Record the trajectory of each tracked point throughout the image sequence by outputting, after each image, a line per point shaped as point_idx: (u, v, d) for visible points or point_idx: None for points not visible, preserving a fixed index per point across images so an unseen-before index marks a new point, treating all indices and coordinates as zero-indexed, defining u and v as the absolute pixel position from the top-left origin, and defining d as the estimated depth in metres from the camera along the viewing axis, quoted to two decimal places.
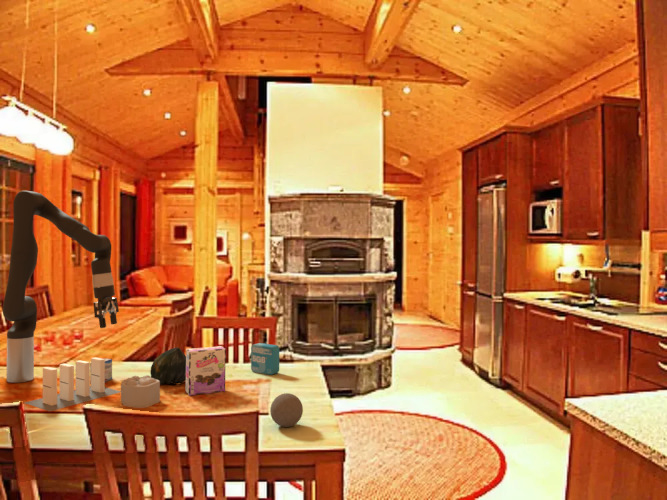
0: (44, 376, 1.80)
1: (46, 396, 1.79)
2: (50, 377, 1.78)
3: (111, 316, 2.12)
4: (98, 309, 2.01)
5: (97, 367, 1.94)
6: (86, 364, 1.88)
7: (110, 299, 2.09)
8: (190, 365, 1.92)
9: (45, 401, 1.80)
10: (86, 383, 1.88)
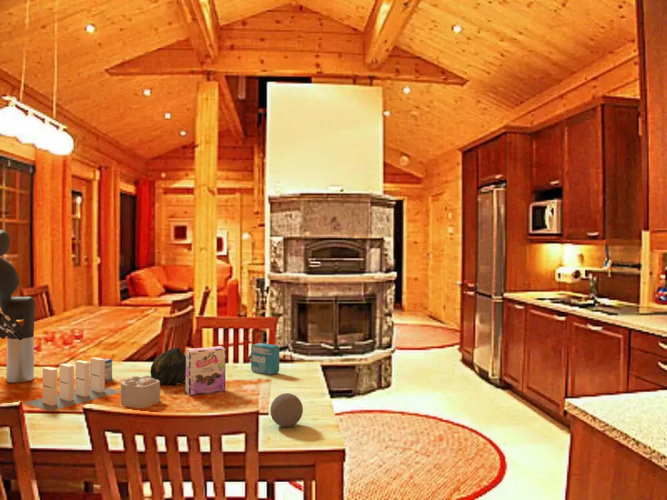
0: (44, 376, 1.80)
1: (46, 396, 1.79)
2: (50, 377, 1.78)
3: None
4: None
5: (97, 367, 1.94)
6: (86, 364, 1.88)
7: None
8: (190, 365, 1.92)
9: (45, 401, 1.80)
10: (86, 383, 1.88)
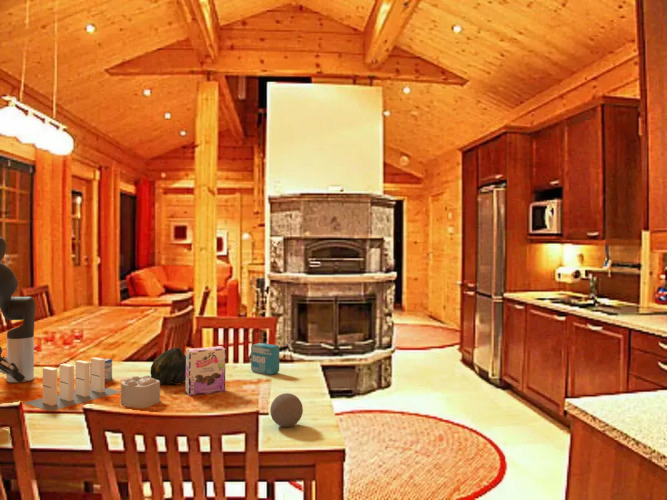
0: (44, 376, 1.80)
1: (46, 396, 1.79)
2: (50, 377, 1.78)
3: None
4: None
5: (97, 367, 1.94)
6: (86, 364, 1.88)
7: None
8: (190, 365, 1.92)
9: (45, 401, 1.80)
10: (86, 383, 1.88)
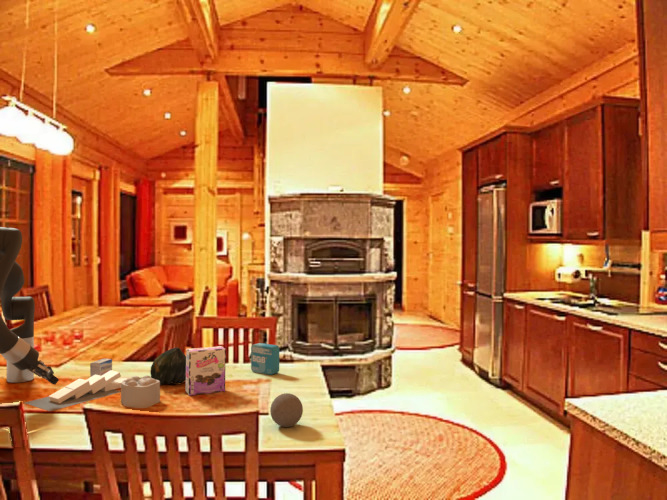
0: (74, 382, 1.89)
1: (58, 393, 1.83)
2: (80, 384, 1.88)
3: None
4: None
5: (123, 380, 2.03)
6: (118, 374, 1.99)
7: (33, 367, 1.73)
8: (190, 365, 1.92)
9: (54, 395, 1.82)
10: (103, 384, 1.94)
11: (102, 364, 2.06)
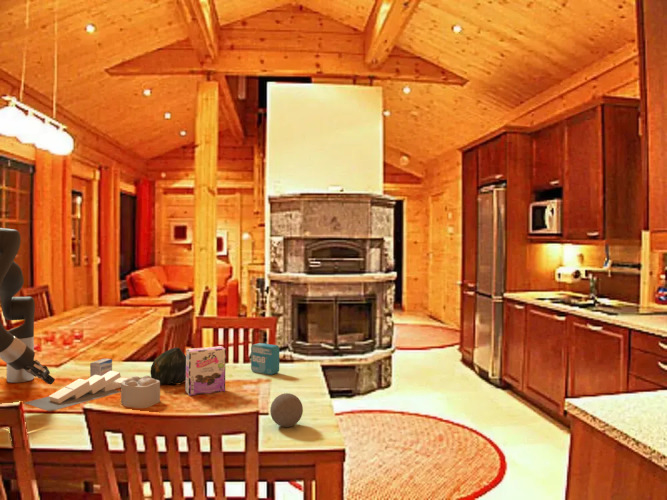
0: (74, 382, 1.89)
1: (58, 393, 1.83)
2: (80, 384, 1.88)
3: None
4: None
5: (123, 380, 2.03)
6: (118, 374, 1.99)
7: (28, 366, 1.72)
8: (190, 365, 1.92)
9: (54, 395, 1.82)
10: (103, 384, 1.94)
11: (102, 364, 2.06)
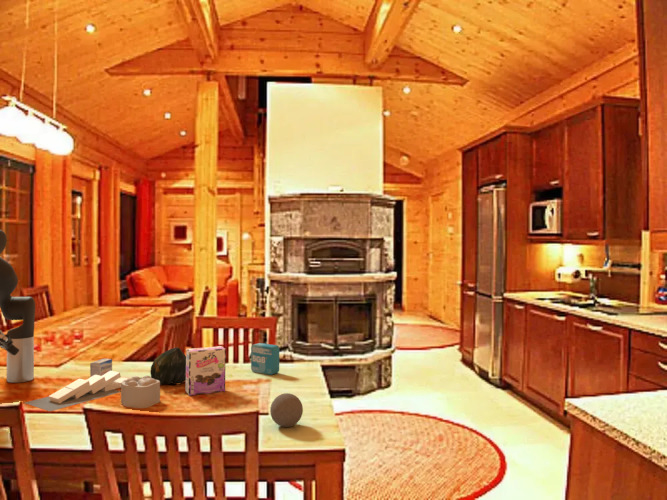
0: (74, 382, 1.89)
1: (58, 393, 1.83)
2: (80, 384, 1.88)
3: None
4: None
5: (123, 380, 2.03)
6: (118, 374, 1.99)
7: None
8: (190, 365, 1.92)
9: (54, 395, 1.82)
10: (103, 384, 1.94)
11: (102, 364, 2.06)
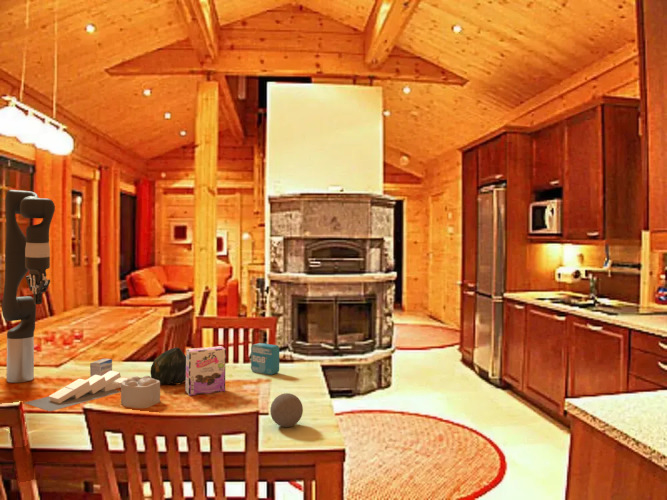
0: (74, 382, 1.89)
1: (58, 393, 1.83)
2: (80, 384, 1.88)
3: None
4: None
5: (123, 380, 2.03)
6: (118, 374, 1.99)
7: (37, 273, 1.83)
8: (190, 365, 1.92)
9: (54, 395, 1.82)
10: (103, 384, 1.94)
11: (102, 364, 2.06)
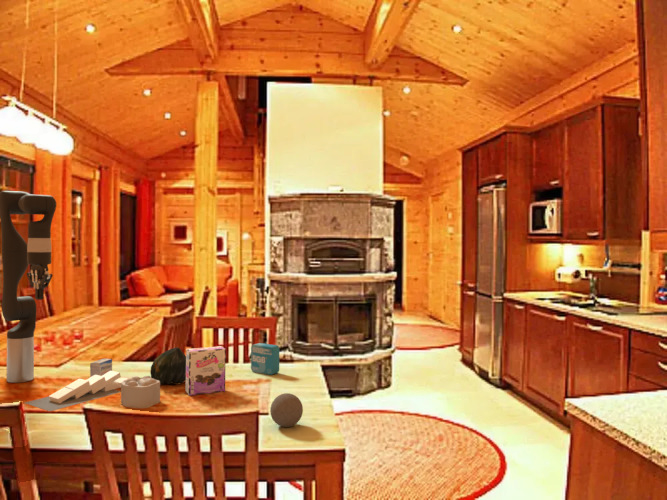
0: (74, 382, 1.89)
1: (58, 393, 1.83)
2: (80, 384, 1.88)
3: None
4: None
5: (123, 380, 2.03)
6: (118, 374, 1.99)
7: (39, 268, 1.86)
8: (190, 365, 1.92)
9: (54, 395, 1.82)
10: (103, 384, 1.94)
11: (102, 364, 2.06)
